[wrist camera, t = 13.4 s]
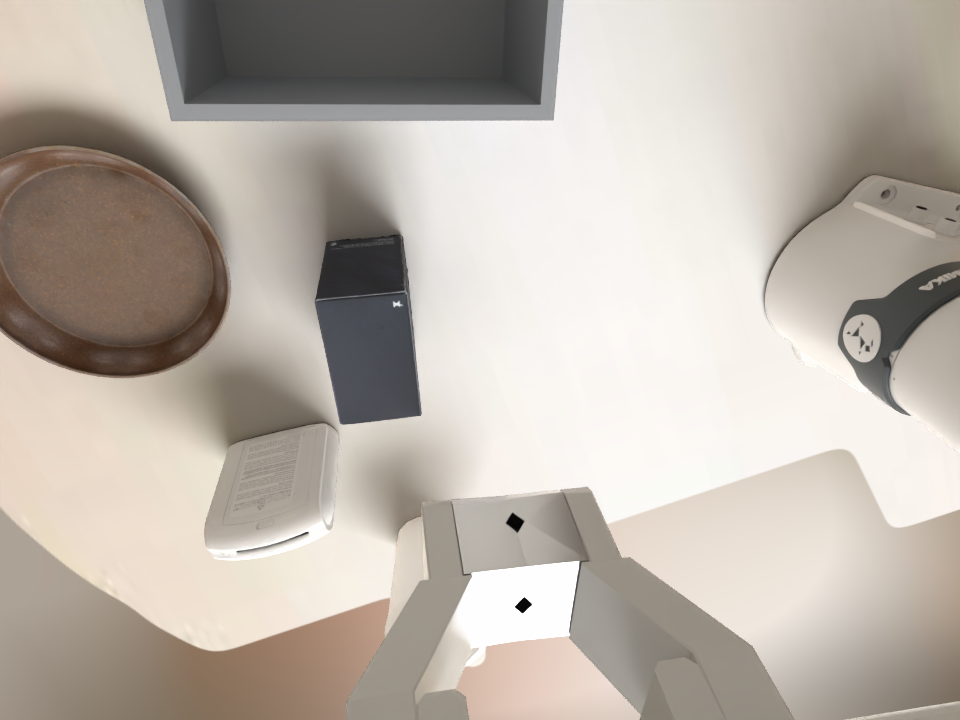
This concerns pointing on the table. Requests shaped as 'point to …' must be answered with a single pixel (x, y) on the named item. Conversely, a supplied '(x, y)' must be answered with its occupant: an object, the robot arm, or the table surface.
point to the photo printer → (274, 493)
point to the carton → (357, 59)
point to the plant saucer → (105, 264)
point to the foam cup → (410, 574)
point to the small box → (368, 329)
